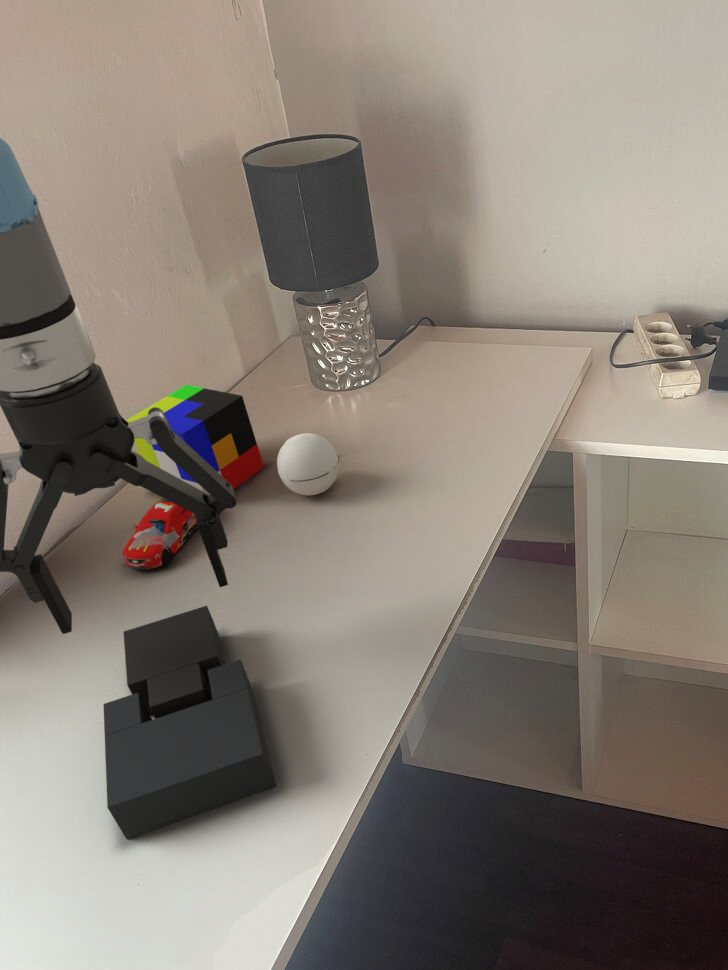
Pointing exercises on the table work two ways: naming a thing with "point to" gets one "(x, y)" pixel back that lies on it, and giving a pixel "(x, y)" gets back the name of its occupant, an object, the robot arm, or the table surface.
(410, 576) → the table surface
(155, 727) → the notch pad
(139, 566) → the race car
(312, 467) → the white sphere
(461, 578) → the table surface
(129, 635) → the tongue pad
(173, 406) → the puzzle toy
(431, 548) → the table surface
